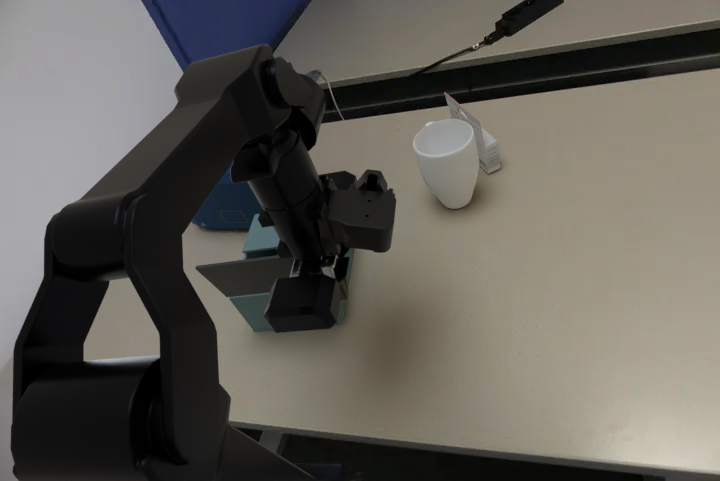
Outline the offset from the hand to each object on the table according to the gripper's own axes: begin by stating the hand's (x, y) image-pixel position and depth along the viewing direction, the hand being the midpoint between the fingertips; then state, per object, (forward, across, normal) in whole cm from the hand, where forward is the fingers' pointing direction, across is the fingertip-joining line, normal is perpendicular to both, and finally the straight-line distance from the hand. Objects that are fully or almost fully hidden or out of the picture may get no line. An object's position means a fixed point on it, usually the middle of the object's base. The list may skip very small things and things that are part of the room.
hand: (343, 297), depth 57 cm
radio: (+11, +29, +24) cm, 39 cm away
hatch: (-1, +4, +11) cm, 11 cm away
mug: (+11, +27, -10) cm, 31 cm away
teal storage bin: (+11, +12, +11) cm, 19 cm away
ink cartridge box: (+10, +35, -14) cm, 39 cm away
